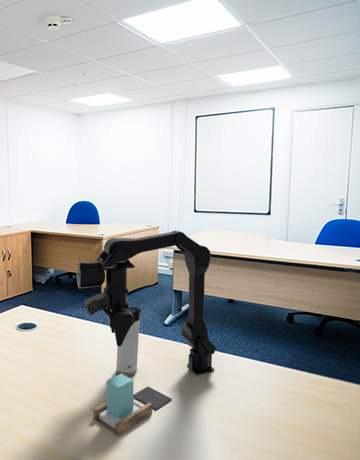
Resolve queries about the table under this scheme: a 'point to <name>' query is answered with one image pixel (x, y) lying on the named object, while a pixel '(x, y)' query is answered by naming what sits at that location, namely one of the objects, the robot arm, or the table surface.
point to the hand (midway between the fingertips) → (116, 339)
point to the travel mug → (129, 347)
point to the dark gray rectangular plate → (152, 397)
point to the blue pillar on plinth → (118, 400)
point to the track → (126, 421)
